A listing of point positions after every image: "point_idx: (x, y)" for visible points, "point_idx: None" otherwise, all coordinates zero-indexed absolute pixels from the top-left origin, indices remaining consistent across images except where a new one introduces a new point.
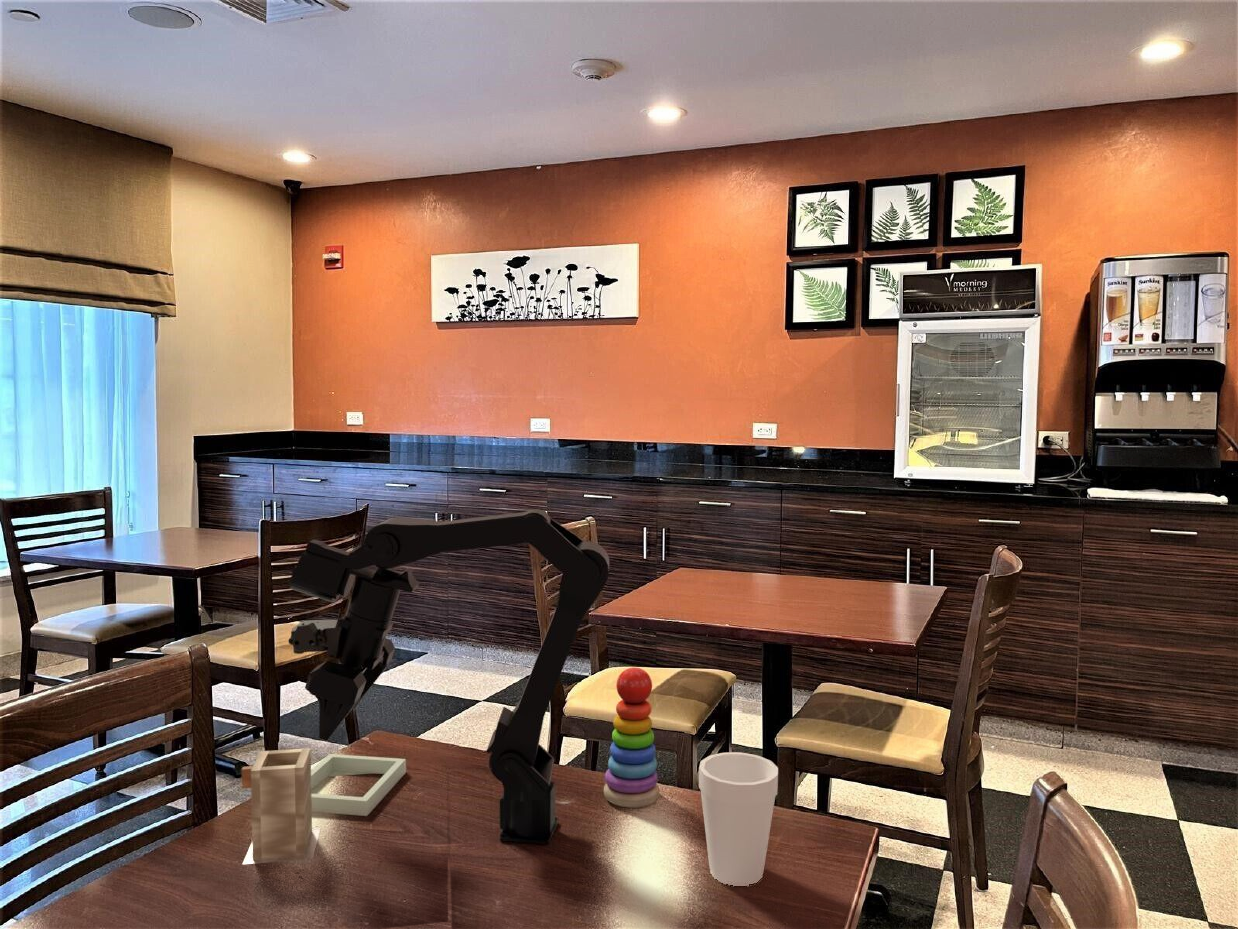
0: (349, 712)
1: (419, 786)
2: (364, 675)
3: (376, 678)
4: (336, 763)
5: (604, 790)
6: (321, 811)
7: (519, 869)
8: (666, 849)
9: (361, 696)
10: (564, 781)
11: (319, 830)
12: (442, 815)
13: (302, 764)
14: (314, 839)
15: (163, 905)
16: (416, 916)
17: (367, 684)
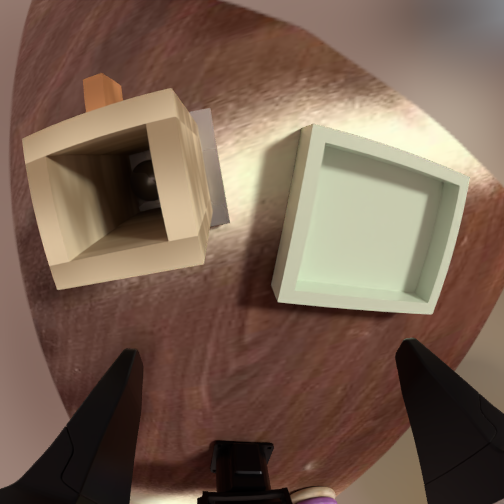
0: (397, 360)
1: (387, 326)
2: (453, 484)
3: (427, 500)
4: (451, 191)
5: (309, 493)
6: (291, 205)
7: (160, 453)
8: None
9: (414, 428)
10: (357, 456)
11: (215, 224)
12: (290, 379)
13: (72, 281)
14: None
15: (36, 77)
16: (57, 381)
17: (429, 469)
